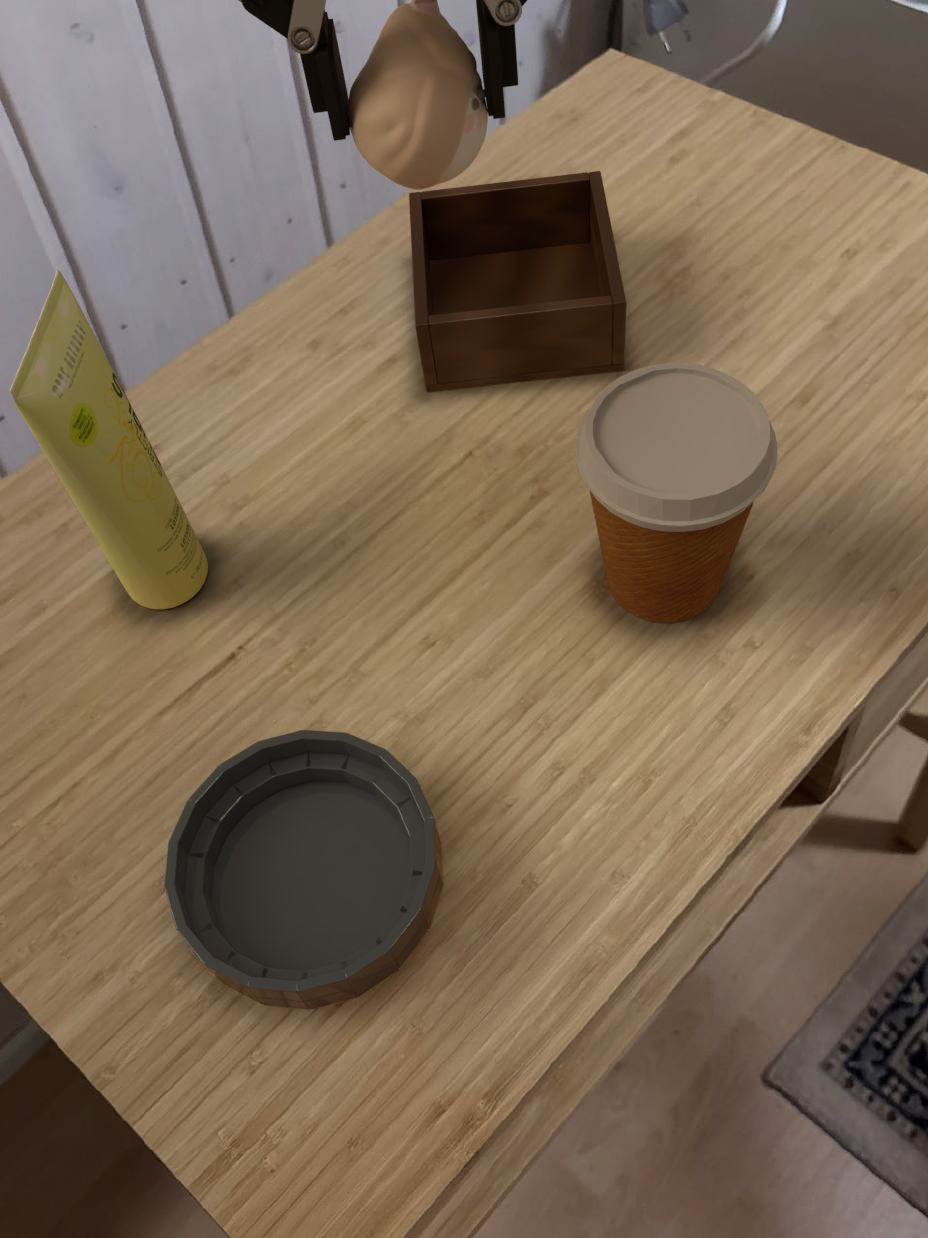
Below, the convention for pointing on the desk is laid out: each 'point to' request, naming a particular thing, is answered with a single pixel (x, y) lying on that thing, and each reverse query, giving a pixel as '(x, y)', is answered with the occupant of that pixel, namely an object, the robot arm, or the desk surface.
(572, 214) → the holder
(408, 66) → the garlic bulb
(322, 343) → the desk surface
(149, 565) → the tube
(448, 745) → the desk surface
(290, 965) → the bowl
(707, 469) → the disposable coffee cup
